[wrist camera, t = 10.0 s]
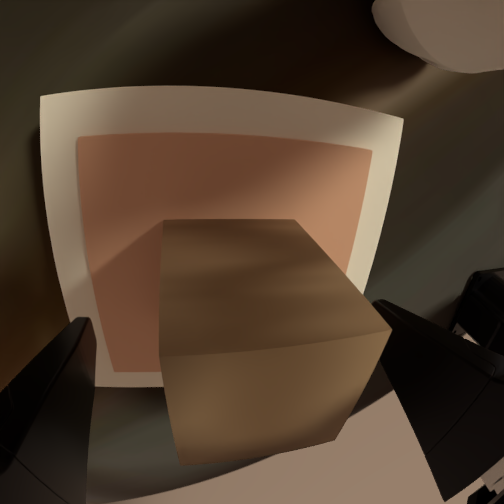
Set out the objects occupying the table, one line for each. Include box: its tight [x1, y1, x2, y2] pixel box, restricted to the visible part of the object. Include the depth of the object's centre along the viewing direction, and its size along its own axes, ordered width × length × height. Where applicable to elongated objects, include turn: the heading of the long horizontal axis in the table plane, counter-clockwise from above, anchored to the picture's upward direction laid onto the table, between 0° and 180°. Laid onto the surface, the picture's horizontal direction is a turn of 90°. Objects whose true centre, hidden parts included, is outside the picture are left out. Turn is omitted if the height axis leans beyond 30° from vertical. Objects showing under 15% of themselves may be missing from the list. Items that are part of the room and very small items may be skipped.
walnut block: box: [159, 219, 392, 466], centre depth 9 cm, size 4×4×6 cm
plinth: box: [40, 86, 404, 387], centre depth 13 cm, size 13×13×3 cm
